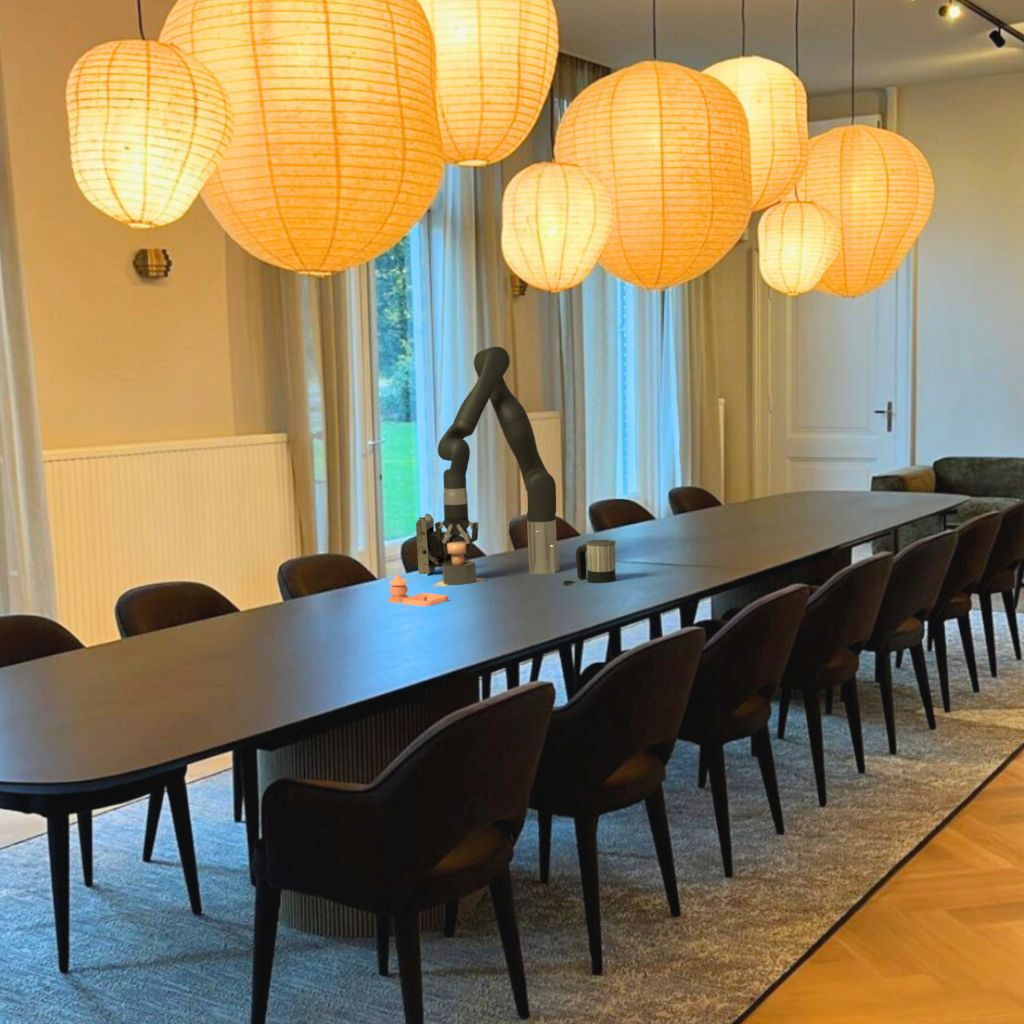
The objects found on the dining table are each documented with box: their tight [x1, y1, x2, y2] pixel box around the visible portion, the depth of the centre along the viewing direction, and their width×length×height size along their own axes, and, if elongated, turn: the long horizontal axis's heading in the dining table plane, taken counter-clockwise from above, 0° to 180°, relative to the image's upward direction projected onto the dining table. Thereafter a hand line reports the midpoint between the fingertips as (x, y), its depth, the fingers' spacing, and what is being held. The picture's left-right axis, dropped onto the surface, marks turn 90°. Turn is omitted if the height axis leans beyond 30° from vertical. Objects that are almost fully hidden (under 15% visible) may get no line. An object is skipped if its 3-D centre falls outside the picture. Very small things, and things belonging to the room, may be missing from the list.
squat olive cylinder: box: [441, 560, 477, 586], centre depth 413 cm, size 10×10×6 cm
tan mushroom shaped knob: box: [447, 540, 467, 565], centre depth 413 cm, size 6×6×8 cm
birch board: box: [431, 577, 488, 587], centre depth 414 cm, size 14×14×2 cm
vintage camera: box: [415, 513, 470, 575], centre depth 435 cm, size 10×15×20 cm, turn 78°
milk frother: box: [562, 539, 617, 587], centre depth 398 cm, size 14×16×15 cm
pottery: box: [388, 574, 449, 607], centre depth 382 cm, size 18×10×10 cm, turn 53°
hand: (457, 554), depth 413 cm, fingers closed on tan mushroom shaped knob, 6 cm apart
